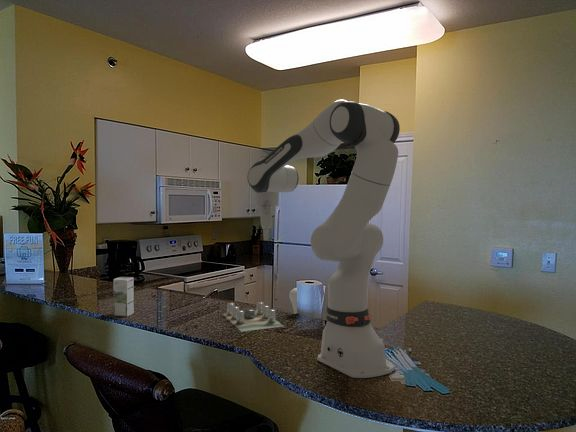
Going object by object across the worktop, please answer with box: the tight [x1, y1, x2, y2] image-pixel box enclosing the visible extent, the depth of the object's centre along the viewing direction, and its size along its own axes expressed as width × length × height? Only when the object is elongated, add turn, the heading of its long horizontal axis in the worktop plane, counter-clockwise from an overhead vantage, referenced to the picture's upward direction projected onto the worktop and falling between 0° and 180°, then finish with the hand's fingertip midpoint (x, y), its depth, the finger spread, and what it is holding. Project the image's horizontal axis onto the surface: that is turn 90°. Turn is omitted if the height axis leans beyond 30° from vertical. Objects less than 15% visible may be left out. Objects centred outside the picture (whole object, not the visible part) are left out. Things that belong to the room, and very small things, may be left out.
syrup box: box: [112, 276, 135, 317], centre depth 160 cm, size 6×6×14 cm
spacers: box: [226, 301, 277, 325], centre depth 154 cm, size 18×14×4 cm
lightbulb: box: [288, 287, 298, 315], centre depth 161 cm, size 6×6×11 cm
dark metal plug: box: [243, 307, 256, 319], centre depth 155 cm, size 4×4×3 cm
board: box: [222, 309, 285, 333], centre depth 153 cm, size 24×16×1 cm, turn 24°
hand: (265, 238), depth 152 cm, fingers open, 8 cm apart
